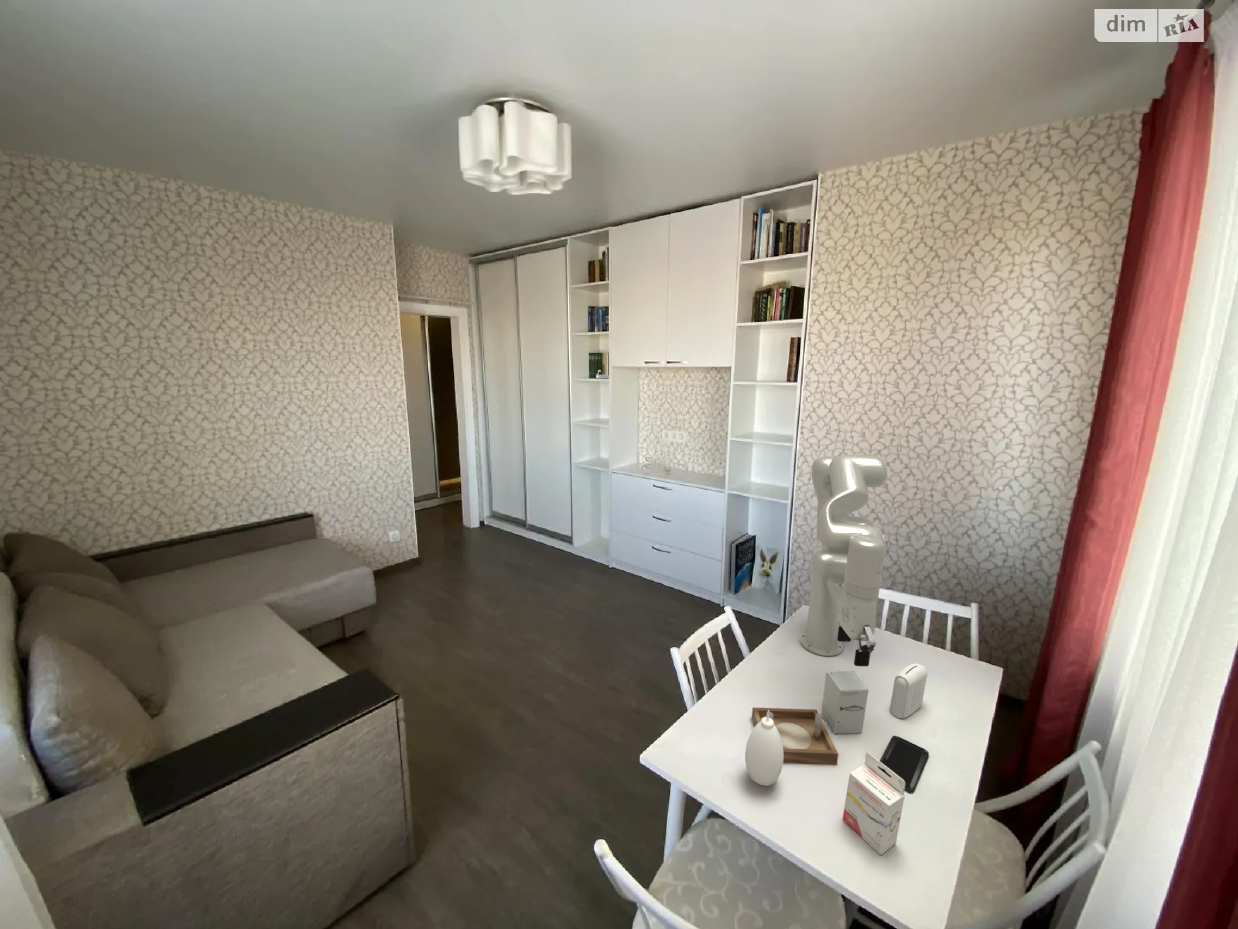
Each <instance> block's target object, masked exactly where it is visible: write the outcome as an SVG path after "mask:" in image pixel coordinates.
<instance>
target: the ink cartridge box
mask: <svg viewBox="0 0 1238 929" xmlns="http://www.w3.org/2000/svg"><path fill="white" fill-rule="evenodd" d="M878 766H879V767H880V768H882V769H885V770H886V772H887V773H888V774H889V775H891V777H892V778H890V777H889V776H887V775H886V774H885V773H884V772H882V771H881V770H880V769H879V768H878ZM848 776H849V777H848V783H847V790H846V795H845V800H844V808H843V814H842V821H844V822H845V824H847V825H848V826H849V827H851V829H853V831H854V832H855V833H857V834H858V835H859V837H861V838H862V839H863V840H864V841H865V843H867V844H868V845H870V846H871V848H872V849H874V851H875V852H877V853H878V854H879V856H882V855H883V854H885V853H886V852H887V851H889V849H891V848H892V847H893V846H894V845H895V844H896V843H897V838H898V834H899V828H900V823H901V818H902V817H901V816H902V812H903V807H904V800H905V791H904V790H905V781H904V780H903V779H902V778H900V777H899V776H898V775H897V774H895V773H894V772H893V771H892V770H890V769H889V768H888V767H886V766H885V765H884V764H883V763H881V762H880V759H879V760H878V759H877V758H876V757H875V756H873V755H872V754H871V753H870V752H868V751H867V752H866V753H865V761H864V763H863V764H861V765H860V766H858V767H856V768H855V769H854V770H852V771H850V772H849V775H848Z"/></svg>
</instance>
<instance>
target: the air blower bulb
mask: <svg viewBox="0 0 1238 929" xmlns="http://www.w3.org/2000/svg"><path fill="white" fill-rule="evenodd" d="M745 746H746V747H745V752H744V754H745V755H744V762H745V768H746V770H747V773H748V775H749V777H750V778H751V779H752V780H753V782H755V783H756V784H758V785H761V786H763V787H764V786H770V785H771V786H772V785H773V784H774V783H775V782H776V781H777V780H778V778H779V777H780V775H781V773H782V769H783V766H784V763H783V759H784V751H783V745H782V740H781V737H780V734H779V732H778V730H777V728H776V726H775V725H774V721H773V720H772V719H771V718H769V710H768V712H767V717H763V718H762V719H761V721H760V722H759V723H758V724H757V725H756V726H755V727H753V729H752V731H751V732H750V733H749V736H748V739H747V742H746V745H745Z"/></svg>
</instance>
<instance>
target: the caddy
mask: <svg viewBox="0 0 1238 929" xmlns="http://www.w3.org/2000/svg"><path fill="white" fill-rule="evenodd" d="M768 710H769V718H771V719H772V720H773V721H774V725H775V726H776V728H777V730H778V732H779V734H780V737H781V740H782V745H783V751H784V759H783V764H802V765H803V764H805V765H833V766H834V765H835V766H837V765H838V759H839V752H838V750H837V748H836V746H835V744H834V742H833V740H832V738H831V736H830V734H829V732H828V730H827V728H826V726H825V724H824V721H823V719H824V717H823V716H822V714H821V713H819V711H818V709H813V708H812V709H810V708H807V709H806V708H786V707H785V708H781V707H779V708H778V707H755V706H754V707H752V711H751V720H752V723H753V726H754V727H755V726H756V725H757V724H758V723H759V722H760V721H761V719H762V718H763V717H767V712H768ZM754 727H753V728H754Z"/></svg>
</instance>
